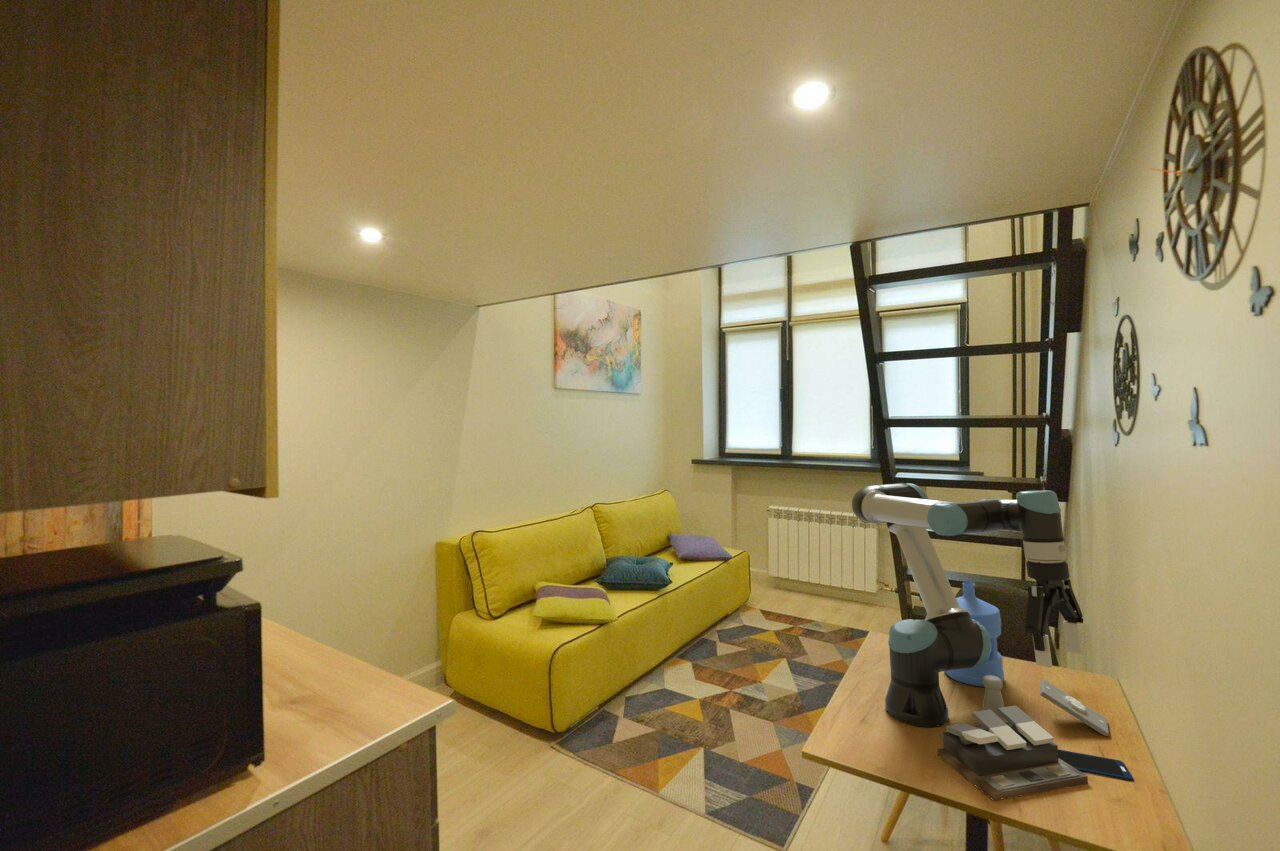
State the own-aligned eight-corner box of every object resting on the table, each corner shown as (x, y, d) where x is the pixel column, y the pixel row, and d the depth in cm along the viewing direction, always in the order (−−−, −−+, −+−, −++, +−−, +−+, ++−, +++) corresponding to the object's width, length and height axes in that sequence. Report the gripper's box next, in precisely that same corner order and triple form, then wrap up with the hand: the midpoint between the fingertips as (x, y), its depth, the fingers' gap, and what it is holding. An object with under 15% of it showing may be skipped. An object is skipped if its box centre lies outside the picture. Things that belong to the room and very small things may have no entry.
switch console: (937, 755, 127) (936, 732, 127) (1022, 741, 131) (1021, 719, 131) (993, 800, 111) (992, 774, 111) (1087, 783, 115) (1086, 758, 115)
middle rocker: (970, 721, 128) (972, 712, 127) (988, 718, 129) (990, 709, 128) (1005, 755, 118) (1007, 745, 118) (1024, 752, 119) (1026, 742, 119)
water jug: (932, 672, 168) (928, 582, 168) (963, 660, 175) (958, 574, 176) (984, 693, 154) (979, 594, 154) (1015, 679, 162) (1010, 585, 162)
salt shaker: (998, 738, 132) (995, 684, 132) (975, 726, 138) (973, 675, 138) (1013, 731, 135) (1011, 679, 135) (991, 720, 140) (988, 670, 140)
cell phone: (1135, 783, 115) (1135, 779, 115) (1054, 767, 121) (1054, 764, 121) (1122, 763, 121) (1122, 760, 121) (1046, 750, 127) (1046, 746, 127)
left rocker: (948, 738, 126) (945, 725, 126) (966, 735, 127) (963, 722, 127) (980, 751, 116) (978, 738, 117) (1000, 748, 117) (997, 735, 118)
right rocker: (996, 717, 129) (998, 708, 129) (1013, 714, 130) (1015, 705, 130) (1033, 750, 120) (1035, 740, 119) (1051, 747, 121) (1053, 737, 120)
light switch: (1111, 731, 130) (1044, 689, 138) (1097, 749, 132) (1031, 706, 140) (1108, 715, 137) (1044, 676, 145) (1095, 732, 139) (1032, 692, 146)
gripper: (1036, 569, 112) (1051, 676, 109) (1091, 554, 124) (1106, 651, 122) (997, 565, 118) (1011, 667, 116) (1054, 552, 130) (1067, 643, 128)
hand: (1059, 659), depth 119 cm, fingers open, 13 cm apart
